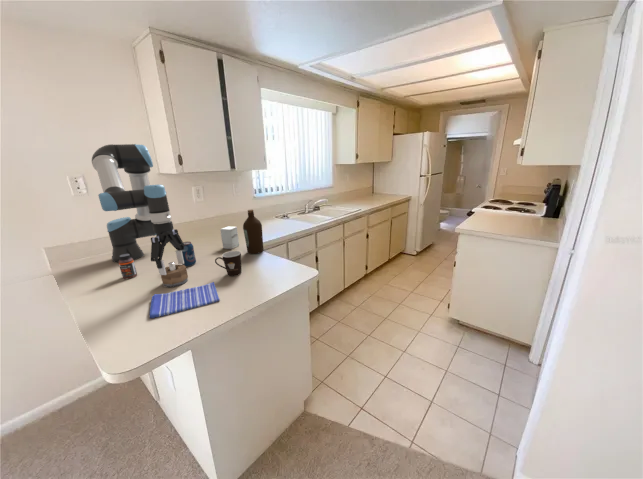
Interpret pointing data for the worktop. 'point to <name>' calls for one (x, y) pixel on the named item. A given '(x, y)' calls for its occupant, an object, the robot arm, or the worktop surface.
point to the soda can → (188, 254)
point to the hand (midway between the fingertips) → (172, 268)
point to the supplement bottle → (127, 266)
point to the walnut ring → (175, 275)
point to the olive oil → (253, 234)
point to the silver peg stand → (172, 267)
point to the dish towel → (183, 300)
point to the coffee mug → (231, 262)
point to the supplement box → (229, 237)
